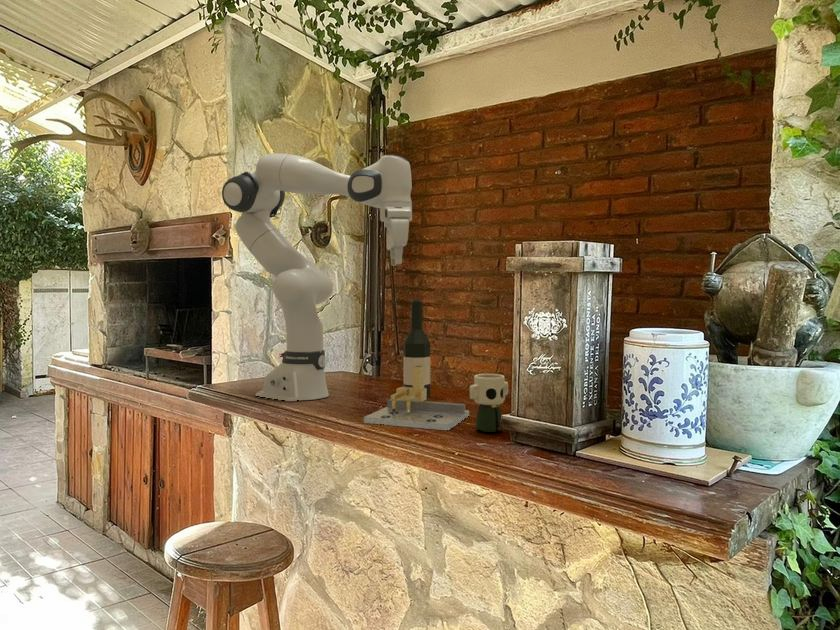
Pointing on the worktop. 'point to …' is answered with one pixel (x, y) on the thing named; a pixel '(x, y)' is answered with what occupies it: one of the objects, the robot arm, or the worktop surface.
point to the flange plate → (418, 413)
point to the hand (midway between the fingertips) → (396, 264)
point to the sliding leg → (417, 388)
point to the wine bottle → (416, 348)
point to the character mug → (489, 400)
